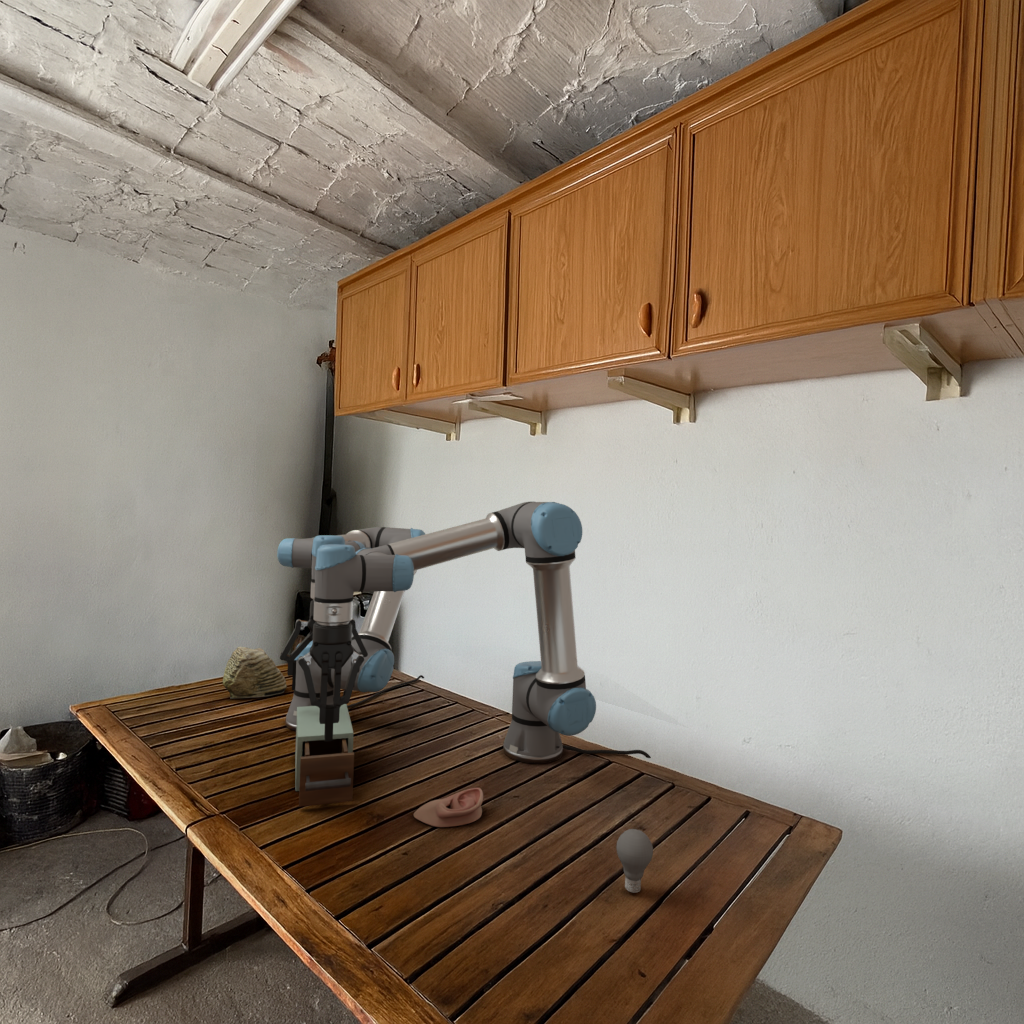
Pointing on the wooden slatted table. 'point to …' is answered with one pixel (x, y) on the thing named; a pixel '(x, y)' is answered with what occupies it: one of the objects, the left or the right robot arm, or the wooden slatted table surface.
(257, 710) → the wooden slatted table surface
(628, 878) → the light bulb
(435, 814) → the anatomical model
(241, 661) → the fossil
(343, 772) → the drawer
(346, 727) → the cabinet
